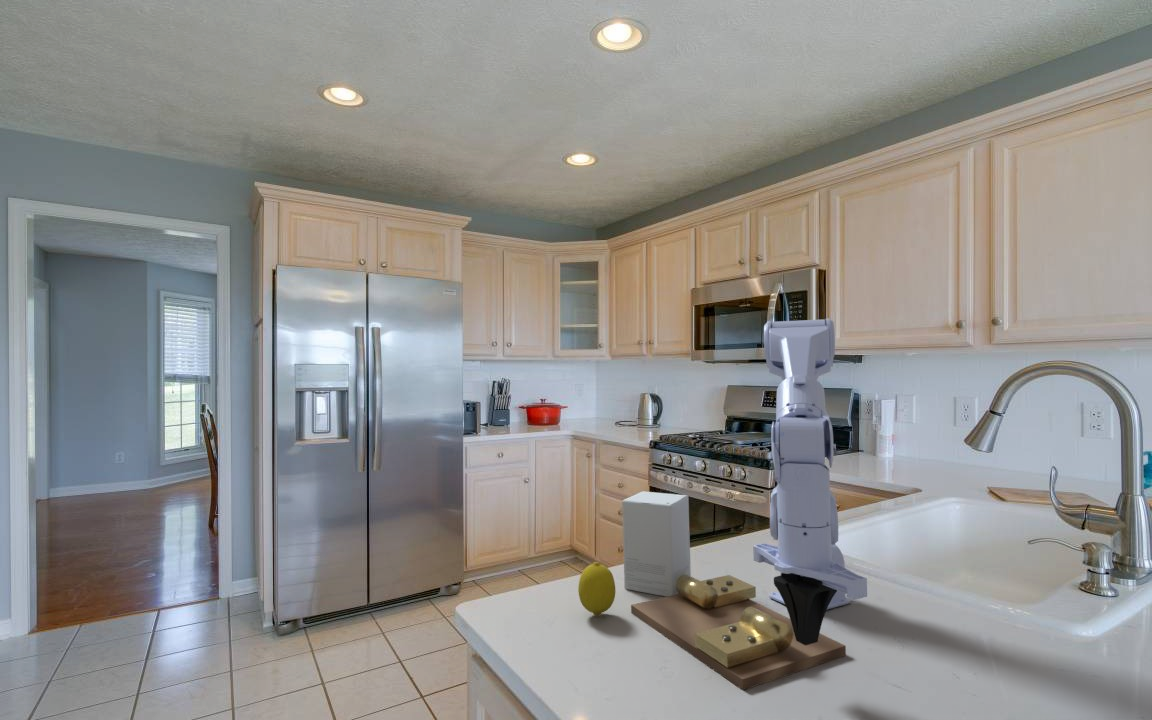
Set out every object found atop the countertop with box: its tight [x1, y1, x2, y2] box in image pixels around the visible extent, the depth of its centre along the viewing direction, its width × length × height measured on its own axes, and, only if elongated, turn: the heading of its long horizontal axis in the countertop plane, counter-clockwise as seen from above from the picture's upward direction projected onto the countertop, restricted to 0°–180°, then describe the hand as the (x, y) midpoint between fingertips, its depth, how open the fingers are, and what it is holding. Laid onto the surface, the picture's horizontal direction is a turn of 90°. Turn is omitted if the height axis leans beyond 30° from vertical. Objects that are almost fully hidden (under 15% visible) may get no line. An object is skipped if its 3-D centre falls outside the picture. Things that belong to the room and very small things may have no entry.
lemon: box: [577, 561, 616, 617], centre depth 86 cm, size 6×6×8 cm
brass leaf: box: [695, 607, 793, 668], centre depth 73 cm, size 11×6×3 cm, turn 116°
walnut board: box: [630, 593, 847, 691], centre depth 80 cm, size 17×24×1 cm
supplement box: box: [621, 490, 692, 597], centre depth 98 cm, size 9×9×15 cm
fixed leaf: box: [676, 574, 757, 609], centre depth 89 cm, size 11×7×3 cm
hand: (806, 641), depth 66 cm, fingers closed
